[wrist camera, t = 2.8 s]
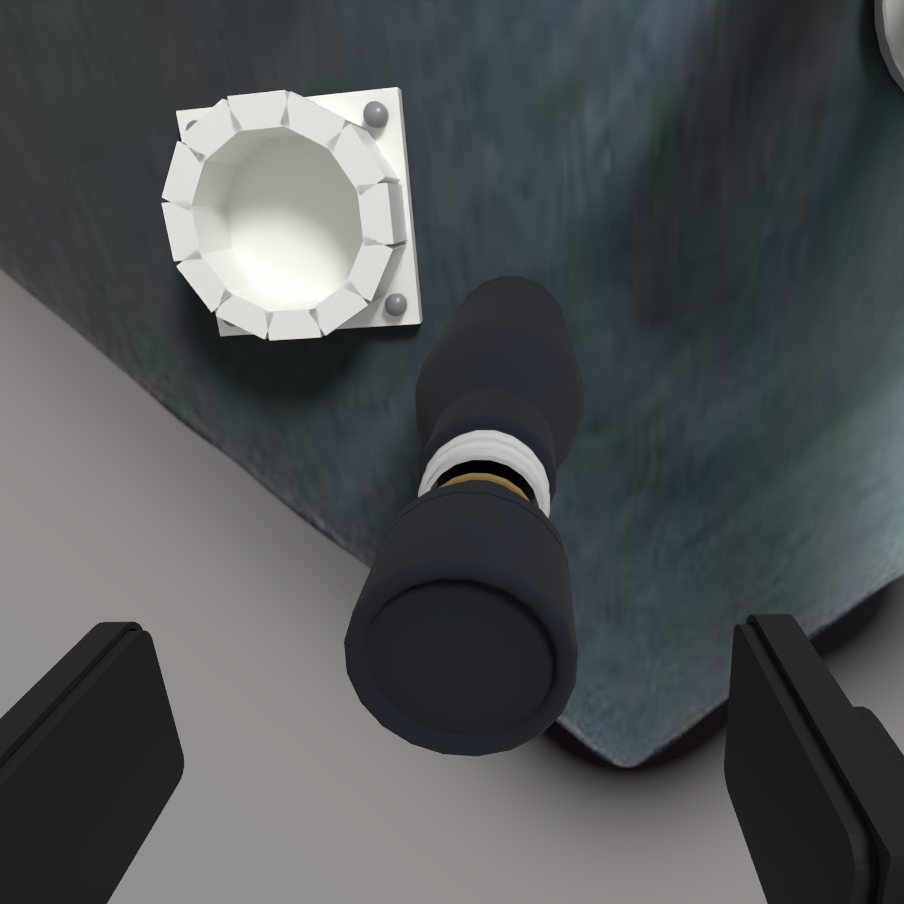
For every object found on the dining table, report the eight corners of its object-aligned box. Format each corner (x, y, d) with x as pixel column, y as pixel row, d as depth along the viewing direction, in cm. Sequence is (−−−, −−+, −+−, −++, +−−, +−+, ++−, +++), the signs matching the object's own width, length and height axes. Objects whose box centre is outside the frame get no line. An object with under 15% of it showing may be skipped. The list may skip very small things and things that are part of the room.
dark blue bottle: (575, 285, 38) (710, 527, 10) (554, 394, 40) (611, 847, 12) (462, 267, 38) (273, 453, 10) (447, 377, 40) (260, 779, 12)
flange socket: (401, 90, 35) (381, 73, 30) (422, 320, 39) (408, 337, 34) (184, 113, 37) (134, 100, 32) (227, 333, 41) (188, 350, 36)
